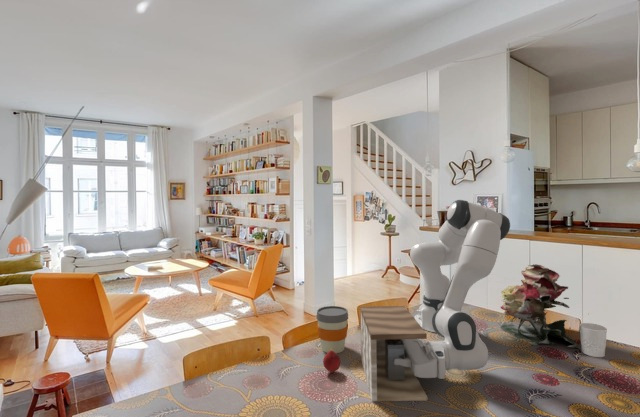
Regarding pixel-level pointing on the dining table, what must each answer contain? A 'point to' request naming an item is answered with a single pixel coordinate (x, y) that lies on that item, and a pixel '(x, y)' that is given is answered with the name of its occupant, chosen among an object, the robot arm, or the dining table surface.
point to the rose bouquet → (535, 306)
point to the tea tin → (393, 350)
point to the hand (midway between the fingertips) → (391, 356)
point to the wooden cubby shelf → (374, 332)
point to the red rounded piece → (331, 361)
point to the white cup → (593, 339)
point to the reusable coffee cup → (332, 328)
